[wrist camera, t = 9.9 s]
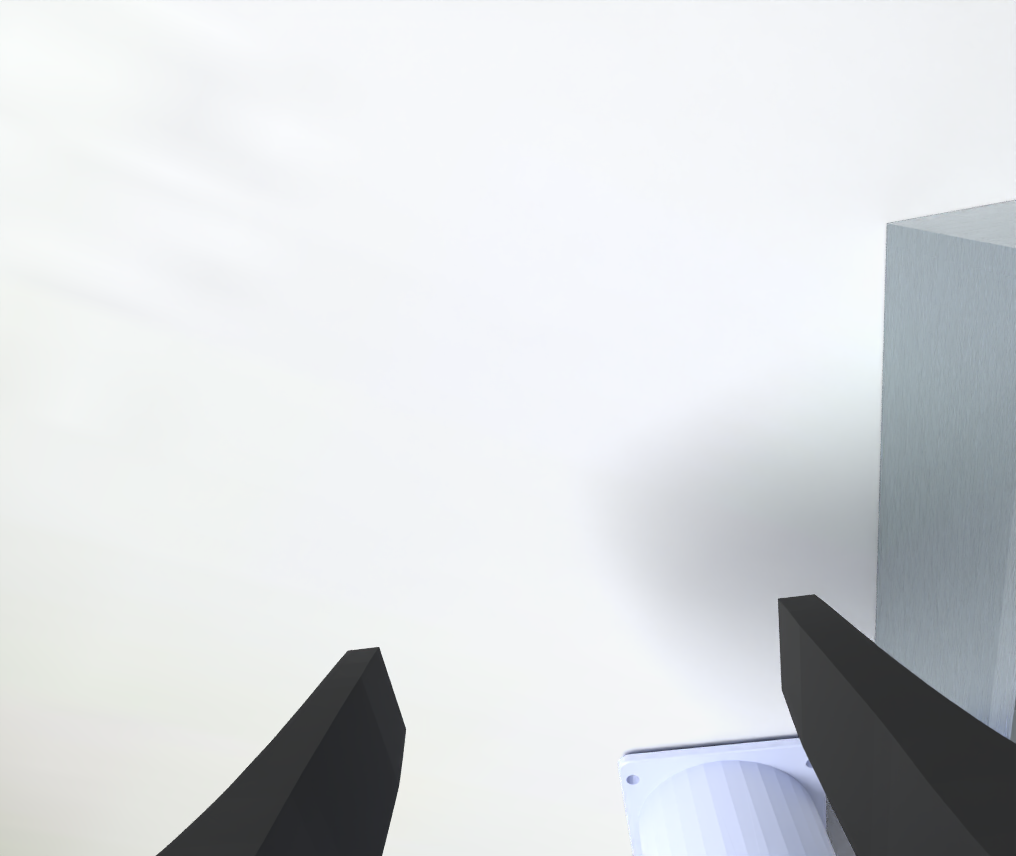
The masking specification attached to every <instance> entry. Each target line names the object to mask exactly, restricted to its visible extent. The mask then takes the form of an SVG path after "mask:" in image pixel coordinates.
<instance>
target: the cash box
mask: <svg viewBox="0 0 1016 856" xmlns="http://www.w3.org/2000/svg"><path fill="white" fill-rule="evenodd" d="M875 644H876V645H877V646H879V647H880V648H881V649H882V650H884V651H885V652H886V653H888V654H889V655H890V656H891V657H893V658H894V659H895V660H897V661H898V662H899V663H900V664H902V665H903V666H904V667H906V668H907V669H908V670H910V671H911V672H912V673H914V674H915V675H916V676H918V677H919V678H920V679H922V680H923V681H924V682H926V683H927V684H928V685H930V686H931V687H932V688H934V689H935V690H936V691H938V692H939V693H941V694H942V695H943V696H945V697H946V698H948V699H949V700H950V701H952V702H953V703H955V704H956V705H958V706H959V707H961V708H962V709H963V710H965V711H966V712H968V713H969V714H971V715H972V716H974V717H975V718H977V719H978V720H979V721H981V722H983V723H984V724H986V725H987V726H989V727H990V728H992V729H993V730H995V731H996V732H998V733H1000V734H1001V735H1003V736H1004V737H1006V738H1008V739H1009V740H1011V741H1013V742H1014V743H1016V200H1013V201H1008V202H1002V203H997V204H991V205H985V206H980V207H974V208H969V209H963V210H958V211H952V212H947V213H941V214H936V215H930V216H925V217H919V218H914V219H908V220H903V221H897V222H891V223H887V240H886V277H885V313H884V350H883V386H882V423H881V459H880V496H879V533H878V569H877V606H876V642H875Z"/></svg>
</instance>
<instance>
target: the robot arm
mask: <svg viewBox="0 0 1016 856" xmlns="http://www.w3.org/2000/svg"><path fill="white" fill-rule="evenodd" d="M778 609H779V634H780V658H781V683H782V692H783V694H784V697H785V700H786V703H787V706H788V708H789V711H790V714H791V717H792V720H793V723H794V725H795V728H796V731H797V733H798V736H799V738H792V739H781V740H771V741H761V742H751V743H740V744H730V745H720V746H709V747H699V748H689V749H678V750H668V751H658V752H648V753H637V754H628V755H624V756H623V757H621V758H620V759H619V761H618V769H619V775H620V781H621V787H622V793H623V799H624V805H625V810H626V816H627V822H628V828H629V834H630V840H631V845H632V851H633V856H836V854H835V851H834V849H833V847H832V844H831V842H830V840H829V837H828V835H827V832H826V796H827V798H828V800H829V802H830V804H831V806H832V808H833V810H834V812H835V814H836V816H837V818H838V820H839V822H840V824H841V826H842V828H843V830H844V832H845V834H846V836H847V838H848V840H849V842H850V844H851V846H852V848H853V850H854V852H855V854H856V856H1016V743H1014V742H1013V741H1011V740H1009V739H1008V738H1006V737H1004V736H1003V735H1001V734H1000V733H998V732H996V731H995V730H993V729H992V728H990V727H989V726H987V725H986V724H984V723H983V722H981V721H979V720H978V719H977V718H975V717H974V716H972V715H971V714H969V713H968V712H966V711H965V710H963V709H962V708H961V707H959V706H958V705H956V704H955V703H953V702H952V701H950V700H949V699H948V698H946V697H945V696H943V695H942V694H941V693H939V692H938V691H936V690H935V689H934V688H932V687H931V686H930V685H928V684H927V683H926V682H924V681H923V680H922V679H920V678H919V677H918V676H916V675H915V674H914V673H912V672H911V671H910V670H908V669H907V668H906V667H904V666H903V665H902V664H900V663H899V662H898V661H897V660H895V659H894V658H893V657H891V656H890V655H889V654H888V653H886V652H885V651H884V650H882V649H881V648H880V647H879V646H877V645H876V644H875V643H874V642H872V641H871V640H870V639H869V638H868V637H866V636H865V635H864V634H863V633H861V632H860V631H859V630H858V629H856V628H855V627H854V626H853V625H852V624H850V623H849V622H848V621H847V620H846V619H844V618H843V617H842V616H841V615H840V614H838V613H837V612H836V611H835V610H834V609H832V608H831V607H830V606H829V605H828V604H826V603H825V602H824V601H823V600H821V599H820V598H819V597H817V596H816V595H815V594H813V595H805V596H797V597H788V598H780V599H778ZM405 734H406V728H405V725H404V722H403V718H402V715H401V712H400V709H399V706H398V703H397V700H396V697H395V694H394V691H393V688H392V685H391V682H390V679H389V676H388V673H387V670H386V667H385V664H384V661H383V657H382V654H381V651H380V648H379V647H375V648H367V649H359V650H350V651H347V652H346V654H345V655H344V656H343V657H342V658H341V659H340V660H339V662H338V663H337V664H336V665H335V666H334V667H333V669H332V670H331V671H330V672H329V674H328V675H327V676H326V677H325V678H324V680H323V681H322V682H321V683H320V684H319V686H318V687H317V688H316V689H315V690H314V692H313V693H312V694H311V695H310V696H309V698H308V699H307V700H306V701H305V703H304V704H303V705H302V706H301V707H300V708H299V710H298V711H297V712H296V713H295V714H294V715H293V717H292V718H291V719H290V720H289V721H288V722H287V724H286V725H285V726H284V727H283V728H282V729H281V731H280V732H279V733H278V734H277V735H276V737H275V738H274V739H273V740H272V741H271V742H270V743H269V744H268V745H267V746H266V748H265V749H264V750H263V751H262V752H261V753H260V754H259V755H258V756H257V757H256V758H255V759H254V761H253V762H252V763H251V764H250V765H249V766H248V767H247V768H246V769H245V770H244V771H243V772H242V774H241V775H240V776H239V777H238V778H237V779H236V780H235V781H234V782H233V783H232V784H231V785H230V786H229V788H228V789H227V790H226V791H225V792H224V793H223V794H222V795H221V796H220V797H219V798H218V799H217V800H216V801H215V802H214V803H213V804H212V805H211V806H210V807H209V808H207V809H206V810H205V811H204V812H203V813H202V814H201V815H200V816H199V817H198V818H197V819H196V820H195V821H194V822H193V823H192V824H191V825H190V826H188V827H187V828H186V829H185V830H184V831H183V832H182V833H181V834H180V835H179V836H178V837H177V838H176V839H175V840H173V841H172V842H171V843H170V844H169V845H168V846H167V847H166V848H164V849H163V850H162V851H161V852H160V853H159V854H157V855H156V856H382V854H383V850H384V846H385V842H386V838H387V834H388V830H389V825H390V821H391V817H392V813H393V809H394V805H395V801H396V797H397V792H398V788H399V782H400V775H401V768H402V760H403V752H404V743H405ZM631 775H634V776H631Z"/></svg>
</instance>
